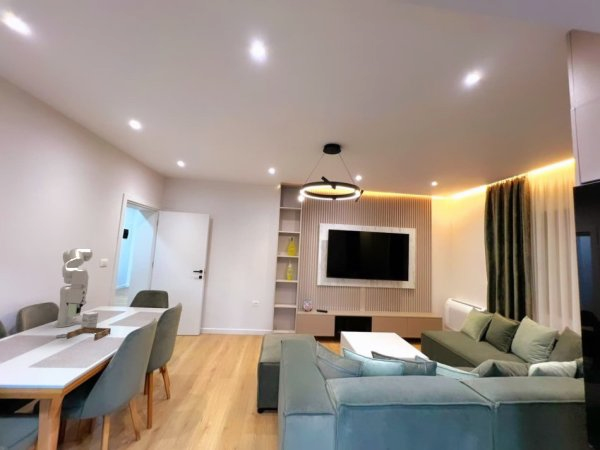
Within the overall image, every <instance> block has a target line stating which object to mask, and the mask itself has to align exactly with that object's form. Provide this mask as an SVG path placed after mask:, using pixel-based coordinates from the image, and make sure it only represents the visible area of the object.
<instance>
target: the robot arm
mask: <svg viewBox="0 0 600 450" xmlns="http://www.w3.org/2000/svg"><path fill="white" fill-rule="evenodd" d="M92 258H93V250H92V249H90V248H73V249H71V250H66V251H64V252H63V254H62V260H63V263H64V264H63V266H62V269H61V270H62V271H61V272H62V273H61V274H62V277H63V283H65V284H69V285H65V286H64V285H63V286H62V287H60V289H59V307H58V315H57V321H56V323H55V324H54V328H68V327H72V326H75V324H76V323H75V322H74V321H76V320H77V319H78V318H77V317H67V315H68V307H69V304H70V303H77V306H78V308H77V311H76V314H78V313H80V314H81V312H82V308H83V306H85V305H86V304H87V303H88V302H87V301H86V297H87V294H88V290H89V289H88V288H89V287H88V286H89V273H88V272H89V271H88V269H87V267H86V268H85V267H80V266H82V265H83V264H85V262H90V261H91V259H92Z"/></svg>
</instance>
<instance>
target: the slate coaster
mask: <svg viewBox="0 0 600 450" xmlns="http://www.w3.org/2000/svg"><path fill="white" fill-rule="evenodd" d="M55 338H56V339H65V338H66V339H67V333H61V334H57V335H56V336H55Z"/></svg>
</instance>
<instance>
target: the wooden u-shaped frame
mask: <svg viewBox="0 0 600 450" xmlns="http://www.w3.org/2000/svg"><path fill="white" fill-rule="evenodd" d="M111 332H112V330H111V328H110V327H108V328H107V327H96V328H95V327H82V328H81V327H79V328H77V329H74V330H72V331H68V332H67V333H66V334H67V337H66V340H69V339H71V338H74V337H76V336H79V335H81V334H94V335H93V336H94V337H93V340H94V341H97V340H100V339H102V338H104V337H107V336H109V335H111ZM95 333H96V334H95ZM108 334H109V335H108Z"/></svg>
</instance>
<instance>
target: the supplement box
mask: <svg viewBox="0 0 600 450" xmlns="http://www.w3.org/2000/svg"><path fill="white" fill-rule="evenodd" d="M98 318H99V312H96V311H88V312H83V313H82V319H81V327H80V328H82V327H95V328H98V327H97V326H98V320H99V319H98Z"/></svg>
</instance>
